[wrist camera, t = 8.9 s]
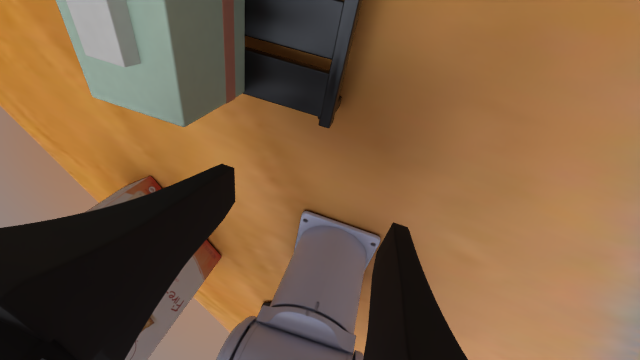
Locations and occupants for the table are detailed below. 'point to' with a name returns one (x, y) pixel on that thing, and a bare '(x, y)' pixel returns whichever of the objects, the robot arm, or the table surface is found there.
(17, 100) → the table surface
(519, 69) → the table surface
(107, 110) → the table surface
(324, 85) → the rack
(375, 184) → the table surface
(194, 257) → the cracker box
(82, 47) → the tissue box
